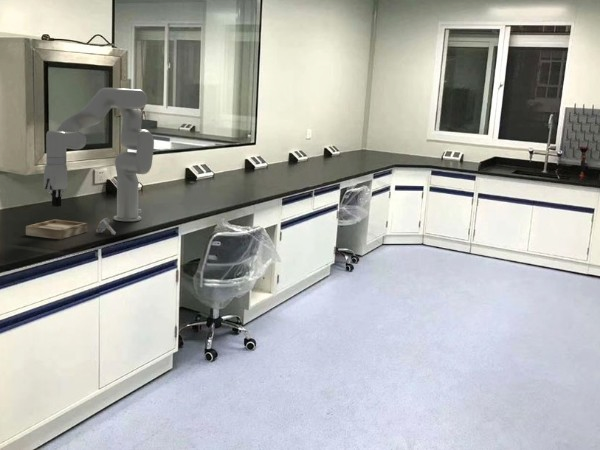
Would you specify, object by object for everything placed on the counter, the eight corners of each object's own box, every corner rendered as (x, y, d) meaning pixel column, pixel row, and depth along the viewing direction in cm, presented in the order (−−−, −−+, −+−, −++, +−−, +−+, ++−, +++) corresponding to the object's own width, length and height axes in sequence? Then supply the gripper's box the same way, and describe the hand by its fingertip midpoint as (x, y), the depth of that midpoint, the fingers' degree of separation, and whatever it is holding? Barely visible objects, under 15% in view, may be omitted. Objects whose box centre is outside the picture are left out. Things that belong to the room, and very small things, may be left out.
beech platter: (54, 227, 258) (54, 219, 258) (87, 231, 254) (87, 223, 254) (25, 235, 241) (25, 226, 240) (60, 239, 237) (60, 230, 237)
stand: (94, 232, 252) (101, 218, 249) (103, 231, 256) (111, 217, 253) (105, 244, 250) (112, 230, 246) (114, 243, 254) (121, 229, 250)
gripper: (60, 159, 250) (60, 203, 254) (36, 161, 236) (36, 207, 239) (75, 161, 249) (75, 205, 252) (52, 163, 234) (52, 209, 237)
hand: (56, 206), depth 246 cm, fingers closed
